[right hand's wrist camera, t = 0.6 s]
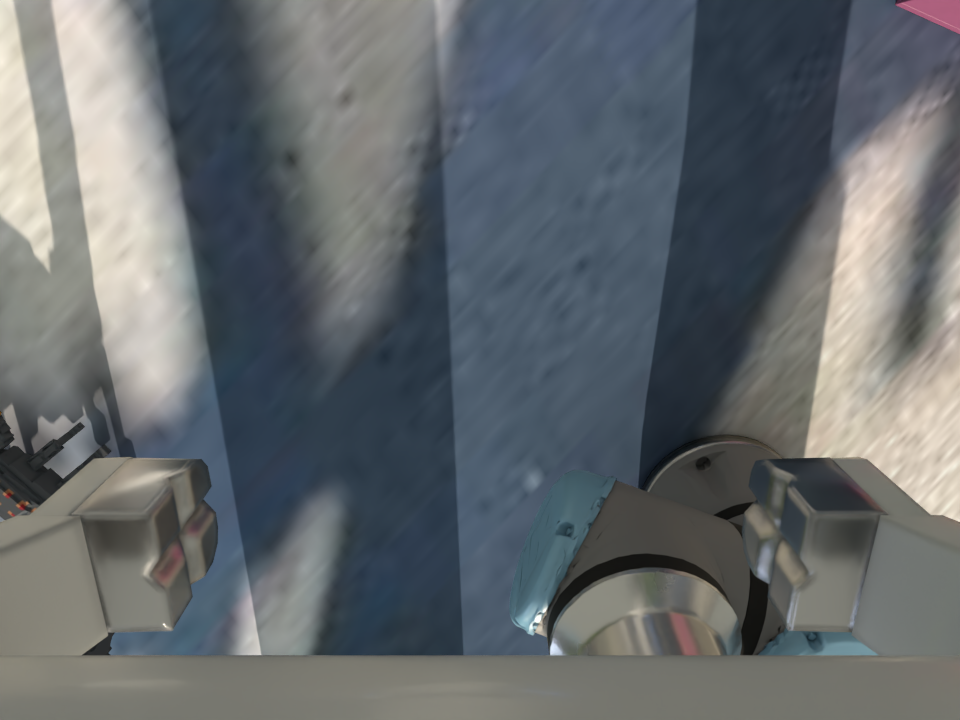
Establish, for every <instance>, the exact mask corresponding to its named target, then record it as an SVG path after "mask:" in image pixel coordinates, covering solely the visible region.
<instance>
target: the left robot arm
mask: <svg viewBox="0 0 960 720" xmlns="http://www.w3.org/2000/svg"><path fill="white" fill-rule="evenodd" d="M763 459H783V458H782V457H781V456H780V455H779V454H778V453H777V452H775V451H774V450H773V449H771V448H770V447H768V446H767V445H765V444H763V443H761V442H759V441H756V440H753V439H750V438H746V437H741V436H733V435H720V436H712V437H706V438H702V439H699V440H696V441H693V442H690V443H688V444H686V445H684V446H682V447H680V448H678V449H676V450H675V451H673V452H672V453H670V454H669V455H668V456H666V457H665V458H664V459H663V460H662V461H661V462H660V463H659V464H658V465H657V466H656V467H655V468H654V469H653V471H652V472H651V473H650V475H649V476H648V478H647V480H646V481H645V483H644V485H643V488H642V490H641V489H638V488H636V487H633V486H630V485H627V484H625V483H622V482H619V481H616V479H617V478H615V477H613V476H611V477H604V476H601V475H597V474H594V473H590V472H587V471H584V470H573V471H570V472H568V473H566V474H564V475H563V476H562V477H561V478H560V479H559V480H558V481H557V482H556V483H555V484H554V485H553V487H552V488H551V490H550V491H549V493H548V494H547V496H546V498H545V500H544V501H543V503H542V505H541V507H540V509H539V511H538V513H537V515H536V518H535V520H534V522H533V524H532V527H531V529H530V532H529V534H528V537H527V539H526V542H525V545H524V547H523V550H522V553H521V556H520V559H519V563H518V566H517V569H516V573H515V577H514V581H513V585H512V590H511V596H510V607H509V609H510V616H511V619H512V621H513V623H514V624H515V625H517V626H518V627H521V628H523V629H525V630H526V631H527V633H528V634H531V635H534V633H538V634H541V635H543V636H546V637H547V641H548V648H549V655H878V654H876V653H875V652H874V651H872V650H871V649H870V648H868V647H867V646H865V645H864V644H863V643H861V642H860V641H859V640H857V639H856V638H855V637H853V636H852V632H816V631H788V630H787V628H786V627H785V625H784V623H783V622H782V620H781V618H780V617H779V615H778V614H777V612H776V610H775V609H774V607H773V605H772V604H771V602H770V600H769V599H768V597H767V596H768V591H769V584H767V583H766V582H764V581H763V580H761V579H759V578H758V577H756V576H755V575H754V573H753V572H752V570H751V568H750V566H749V565H748V562H747V559H746V556H745V553H744V549H743V539H742V527H743V518H744V512H745V511H746V510H747V509H748V508H749V507H750V506H751V505H752V504H753V503H754V502H755V501H756V500H757V499H756V497H755V496H754V494H753V493H752V491H751V489H750V488H749V480H750V474H751V470H752V468H753V466H754V463H755V461H757V460H763Z"/></svg>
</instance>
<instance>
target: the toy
mask: <svg viewBox="0 0 960 720" xmlns="http://www.w3.org/2000/svg"><path fill="white" fill-rule="evenodd" d="M1 413H2V412H0V516H1V517H2V518H3V519H4V520H7V519H10V518H12V517H15V516H17V515H30V514H31V513H32V512H33V511H35V510H36V509H37V508H38V507H39V506H40V505H41V504H43V503H44V502H45V501H46V500H47V499H48V498H49V497H51V496H52V495H53V494H54V493H55V492H56V491H57V490H59V489H60V488H61V487H62V486H63V485H64V484H65V483H67V482H68V481H69V480H70V479H71V478H72V477H73V476H75V475H76V474H77V473H78V472H79V471H80V470H81V469H83V468H84V467H85V466H86V465H87V464H88V463H89V462H91V461H92V460H93V459H97V458H104V457H105V456H106V455H108V454H109V453H110V452H111V450H110V449H109V448H107V447H106V446H105V445H103V446H102V447H101V448H99V449H98V450H97V451H96V452H95V453H94V454H92V455H91V456H90V457H89V458H88V459H87V460H86V461H85V462H83V463H82V464H81V465H80V466H78V467H77V468H76V469H75V470H74V471H72V472H71V473H70V474H69V475H67V476H66V477H65V478H64V479H62V478H61V477H60V476H59V475H58V474H57V473H55V472H54V471H53V470H52V469H51V468H50V469H49V470H48V469H46V468H45V467H44V466H43V465H44V464H45V463H46V462H47V461H49V460H50V459H51V458H52V457H53V456H55V455H56V454H57V453H58V452H60V451H61V450H62V449H63V448H64V447H63V446H62V445H63V444H64V443H66V442H67V441H68V440H69V439H71V438H72V437H73V436H75V435H76V434H77V433H78V432H79V431H80V430H82V429H83V428H84V427H85V426H84V425H83V424H81V423H78V424H77V425H76V426H75V427H73V428H72V429H71V430H70V431H69V432H67V433H66V434H65V435H63V436H62V437H61V438H59V439H58V440H55V439H53V440H51V441H50V442H49V443H48V444H46V445H45V446H44V447H43V448H42V449H40V450H39V451H38V452H37V453H36V454H34V455H33V456H32V455H31V454H26V453H24V452H23V451H22V450H21V449H20V448H19V447H17V446H12V447H11V448H10V449H8V450H6V449H3V448H5V447H6V446H7V445H9V444H10V443H11V442H12V441H13V440H14V438H13V436H14V435H13V434H12V433H11V432H10V429H11V428H10V427H9V426H8V425H7V423H6V421H5V420H4V419H3V417H2V415H1ZM114 633H115V632H108V636H107V637H106V638H104V639H103V640H102V641H100V642H99V643H98V644H96V645H95V646H93V647H92V648H91V649H89V650H88V651H87V652H85V653H84V654H83V655H110V654H109V651H110V650H111V649H112V648H111V647H110V643H111V639H112V636H113V634H114Z"/></svg>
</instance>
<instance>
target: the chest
mask: <svg viewBox="0 0 960 720" xmlns="http://www.w3.org/2000/svg"><path fill="white" fill-rule="evenodd" d="M895 5H897V6H899V7H901V8H903V9H906V10H908V11H910V12H912V13H914V14H917V15H919V16H921V17H923V18H925V19H928V20H930V21H932V22H934V23H936V24H939V25H941V26H943V27H945V28H948V29H950V30H952V31H954V32H956V33H959V34H960V0H897V2H896V4H895Z"/></svg>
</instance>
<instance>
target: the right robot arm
mask: <svg viewBox="0 0 960 720" xmlns="http://www.w3.org/2000/svg"><path fill="white" fill-rule="evenodd" d="M210 488H211V481H210V476H209V471H208V466H207V465H206V464H205V463H204V462H203V460H202V459H168V458H132V457H118V458H97V459H93V460H92V461H91V462H89V463H88V464H87V465H86V466H85V467H84V468H83V469H81V470H80V471H79V472H78V473H77V474H76V475H75V476H73V477H72V478H71V479H70V480H69V481H68V482H67V483H65V484H64V485H63V486H62V487H61V488H60V489H59V490H57V491H56V492H55V493H54V494H53V495H52V496H51V497H49V498H48V499H47V500H46V501H45V502H44V503H43V504H41V505H40V506H39V507H38V508H37V509H36V510H35V511H33V512H32V513H31V514H30V515H17V516H15V517H12V518H10V519H7V520H5V521H2V522H0V720H960V522H958V521H955V520H953V519H950V518H948V517H945V516H943V515H930V514H929V513H928V512H927V511H925V510H924V509H923V508H922V507H921V506H920V505H919V504H917V503H916V502H915V501H914V500H913V499H912V498H911V497H910V496H908V495H907V494H906V493H905V492H904V491H903V490H902V489H900V488H899V487H898V486H897V485H896V484H895V483H894V482H892V481H891V480H890V479H889V478H888V477H887V476H886V475H884V474H883V473H882V472H881V471H880V470H879V469H878V468H876V467H875V466H874V465H873V464H872V463H871V462H870V461H868V460H867V459H864V458H860V457H846V458H794V459H763V460H757V461H755V463H754V466H753V468H752V470H751V474H750V480H749V488H750V489H751V491H752V493H753V494H754V496H755V497H756V499H757V500H756V501H755V502H754V503H753V504H752V505H751V506H750V507H749V508H748V509H747V510H746V511H745V512H744V518H743V527H742V539H743V549H744V553H745V556H746V559H747V562H748V565H749V566H750V568H751V570H752V572H753V573H754V575H755V576H756V577H758V578H759V579H761V580H763V581H764V582H766V583H767V584H769V591H768V596H767V597H768V599H769V600H770V602H771V604H772V605H773V607H774V609H775V610H776V612H777V614H778V615H779V617H780V618H781V620H782V622H783V623H784V625H785V627H786V628H787V630H788V631H816V632H852V636H853V637H855V638H856V639H857V640H859V641H860V642H861V643H863V644H864V645H865V646H867V647H868V648H870V649H871V650H872V651H874V652H875V653H876V654H878V655H83V654H84V653H85V652H87V651H88V650H89V649H91V648H92V647H93V646H95V645H96V644H98V643H99V642H100V641H102V640H103V639H104V638H106V637H107V636H108V632H143V631H172V630H173V628H174V627H175V625H176V623H177V622H178V620H179V619H180V617H181V615H182V614H183V612H184V610H185V609H186V607H187V605H188V604H189V602H190V600H191V599H192V597H193V596H192V591H191V584H193V583H194V582H196V581H197V580H199V579H201V578H202V577H204V576H205V575H206V573H207V572H208V570H209V568H210V566H211V565H212V563H213V560H214V556H215V552H216V548H217V543H218V524H217V517H216V512H215V511H214V510H213V509H212V508H211V507H210V506H209V505H208V504H207V503H206V502H205V501H204V500H203V499H204V497H205V496H206V494H207V493H208V491H209V489H210Z"/></svg>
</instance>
